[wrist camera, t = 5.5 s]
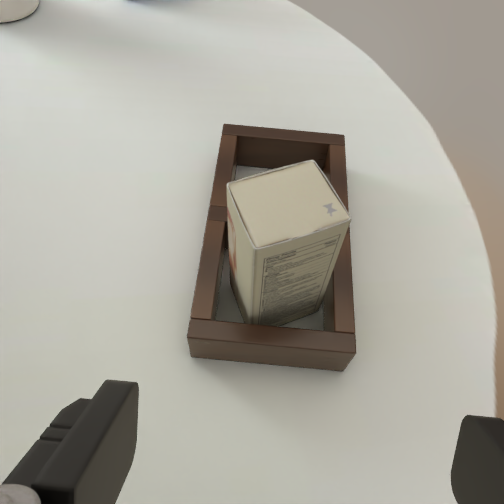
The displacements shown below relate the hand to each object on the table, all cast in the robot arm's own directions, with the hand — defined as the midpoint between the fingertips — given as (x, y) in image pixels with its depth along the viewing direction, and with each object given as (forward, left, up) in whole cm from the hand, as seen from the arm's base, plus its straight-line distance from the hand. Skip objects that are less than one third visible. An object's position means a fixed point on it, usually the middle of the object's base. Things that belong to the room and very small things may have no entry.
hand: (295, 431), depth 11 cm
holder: (+9, +12, -15) cm, 21 cm away
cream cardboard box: (+7, +9, -15) cm, 19 cm away
